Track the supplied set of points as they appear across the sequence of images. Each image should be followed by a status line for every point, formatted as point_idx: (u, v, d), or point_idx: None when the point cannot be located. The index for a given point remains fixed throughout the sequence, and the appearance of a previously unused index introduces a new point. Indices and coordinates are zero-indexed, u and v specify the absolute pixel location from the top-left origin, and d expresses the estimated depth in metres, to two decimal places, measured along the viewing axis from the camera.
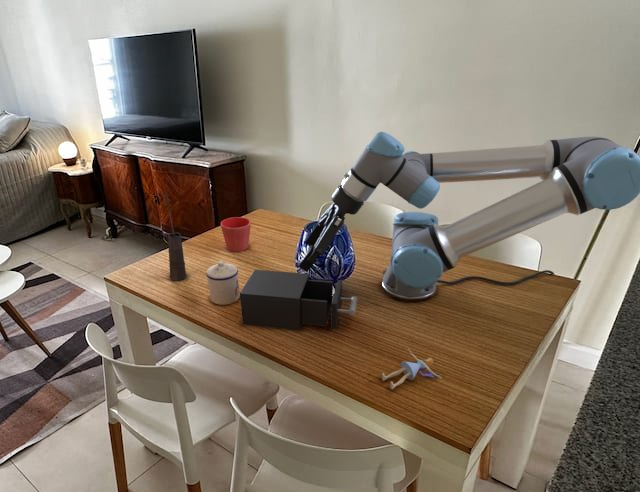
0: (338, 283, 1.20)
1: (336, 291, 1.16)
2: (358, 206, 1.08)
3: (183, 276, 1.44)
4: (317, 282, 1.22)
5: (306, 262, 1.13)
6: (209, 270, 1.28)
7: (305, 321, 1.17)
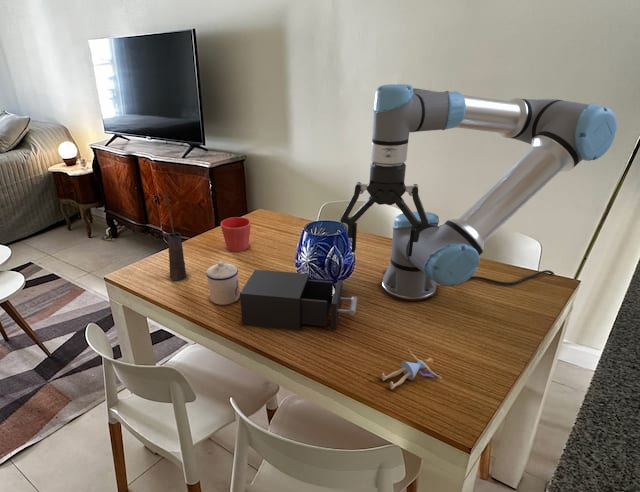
0: (338, 283, 1.20)
1: (336, 291, 1.16)
2: None
3: (183, 276, 1.44)
4: (317, 282, 1.22)
5: None
6: (209, 270, 1.28)
7: (305, 321, 1.17)
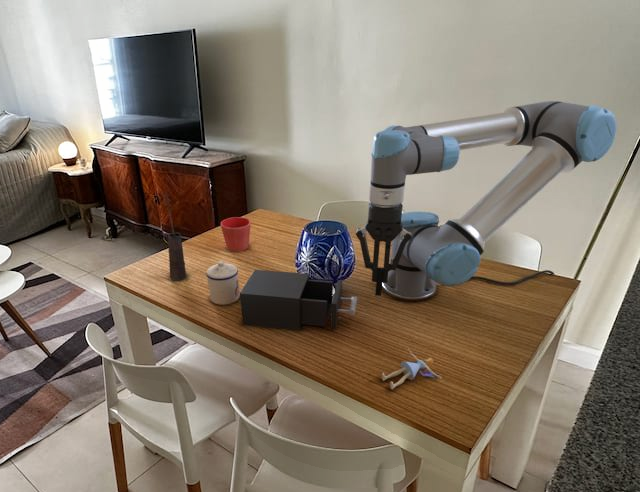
0: (338, 283, 1.20)
1: (336, 291, 1.16)
2: None
3: (183, 276, 1.44)
4: (317, 282, 1.22)
5: (382, 286, 1.12)
6: (209, 270, 1.28)
7: (305, 321, 1.17)
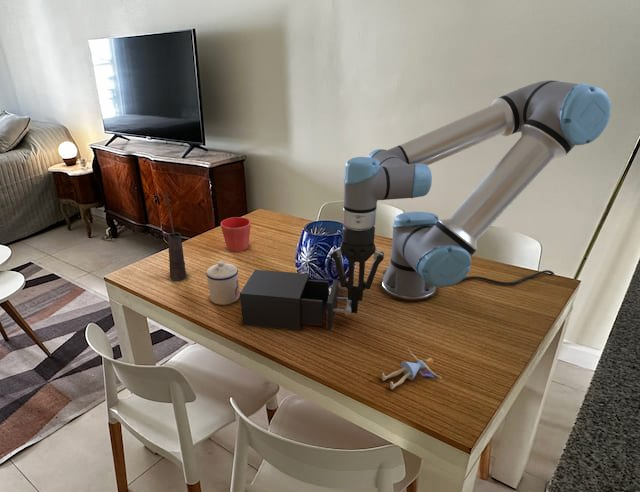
0: (334, 283, 1.20)
1: (332, 291, 1.17)
2: None
3: (183, 276, 1.44)
4: (313, 282, 1.22)
5: (357, 304, 1.16)
6: (209, 270, 1.28)
7: (301, 321, 1.17)
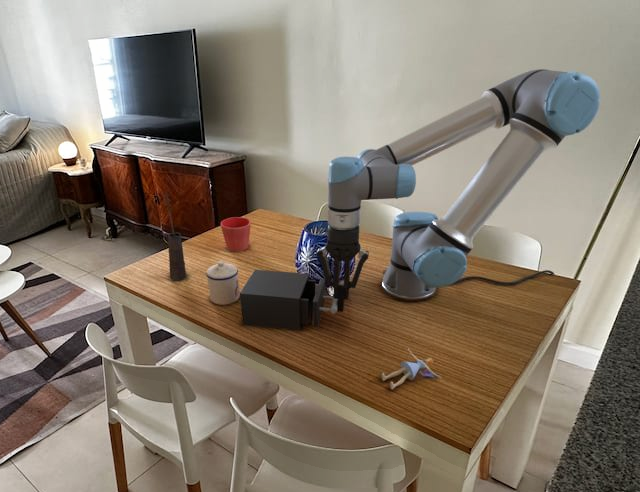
0: (320, 282, 1.21)
1: (318, 289, 1.17)
2: None
3: (183, 276, 1.44)
4: None
5: (343, 302, 1.17)
6: (209, 270, 1.28)
7: None
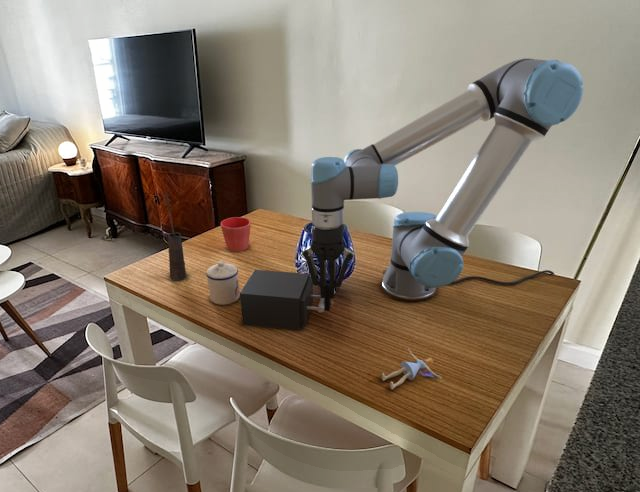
0: (308, 281, 1.22)
1: (305, 288, 1.18)
2: None
3: (183, 276, 1.44)
4: None
5: (329, 301, 1.18)
6: (209, 270, 1.28)
7: None
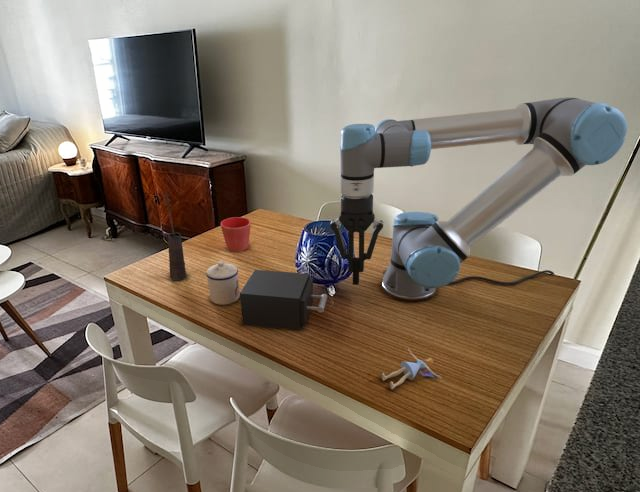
0: (308, 281, 1.22)
1: (305, 288, 1.18)
2: None
3: (183, 276, 1.44)
4: None
5: (358, 275, 1.16)
6: (209, 270, 1.28)
7: None
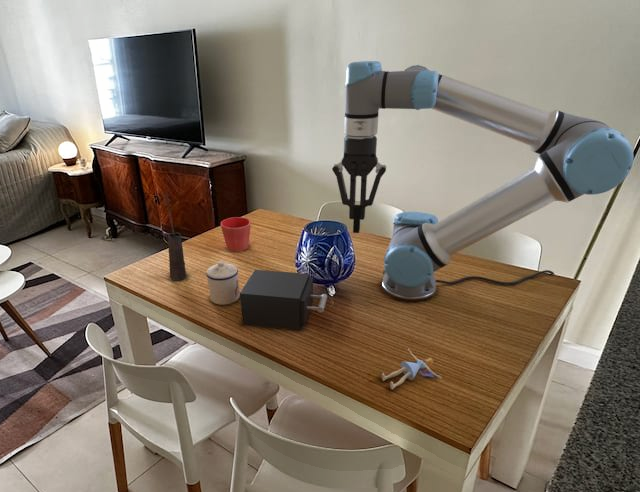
0: (308, 281, 1.22)
1: (305, 288, 1.18)
2: None
3: (183, 276, 1.44)
4: None
5: (359, 223, 1.14)
6: (209, 270, 1.28)
7: None
